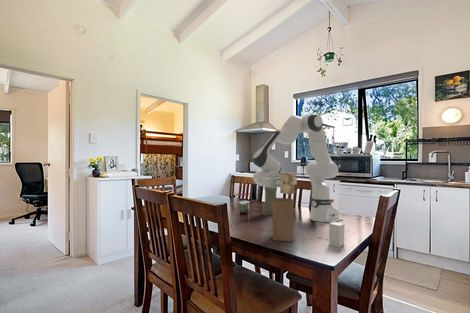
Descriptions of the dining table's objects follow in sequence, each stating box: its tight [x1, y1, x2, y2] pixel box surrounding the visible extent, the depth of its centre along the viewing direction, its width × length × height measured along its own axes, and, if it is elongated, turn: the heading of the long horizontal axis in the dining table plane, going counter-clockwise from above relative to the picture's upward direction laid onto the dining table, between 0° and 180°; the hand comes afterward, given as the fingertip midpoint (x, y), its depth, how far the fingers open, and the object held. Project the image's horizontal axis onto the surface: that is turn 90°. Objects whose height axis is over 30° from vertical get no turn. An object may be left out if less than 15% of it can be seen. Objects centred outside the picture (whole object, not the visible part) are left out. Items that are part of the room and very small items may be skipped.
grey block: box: [328, 221, 345, 248], centre depth 121 cm, size 5×5×10 cm
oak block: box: [279, 172, 296, 195], centre depth 128 cm, size 5×5×10 cm
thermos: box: [263, 187, 278, 217], centre depth 184 cm, size 9×12×35 cm
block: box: [272, 197, 295, 243], centre depth 129 cm, size 10×10×20 cm
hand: (288, 182), depth 128 cm, fingers closed on oak block, 5 cm apart
